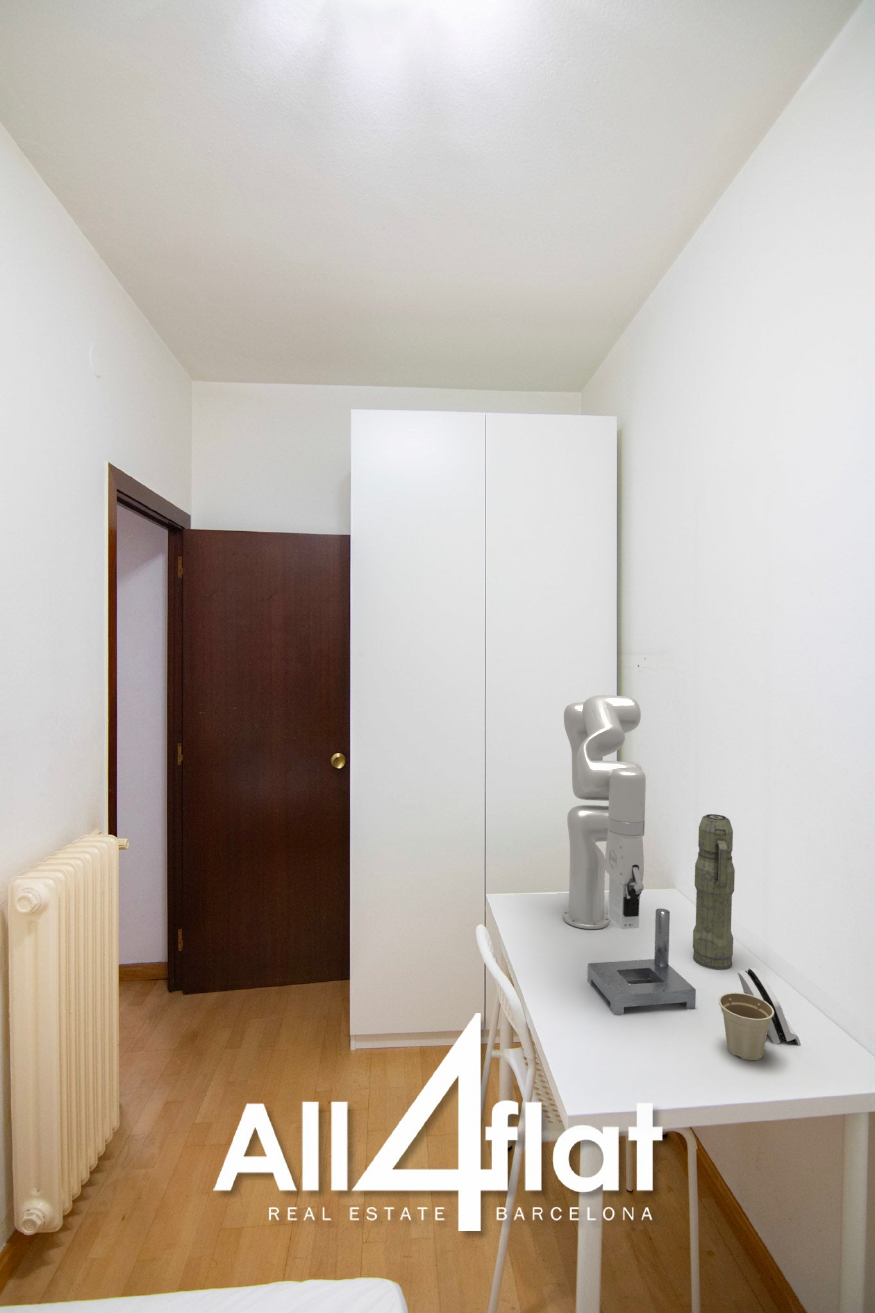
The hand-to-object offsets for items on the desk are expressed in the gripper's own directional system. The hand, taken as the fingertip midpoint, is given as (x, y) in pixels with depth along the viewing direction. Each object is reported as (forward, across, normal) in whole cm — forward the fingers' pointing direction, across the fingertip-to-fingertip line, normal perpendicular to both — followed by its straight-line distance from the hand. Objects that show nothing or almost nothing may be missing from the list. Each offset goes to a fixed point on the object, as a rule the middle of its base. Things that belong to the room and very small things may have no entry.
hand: (623, 908), depth 143 cm
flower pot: (+19, +21, +15) cm, 32 cm away
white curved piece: (+19, +12, +25) cm, 34 cm away
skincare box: (+3, 0, 0) cm, 3 cm away
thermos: (+20, -13, +29) cm, 37 cm away
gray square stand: (+19, 0, +4) cm, 20 cm away
